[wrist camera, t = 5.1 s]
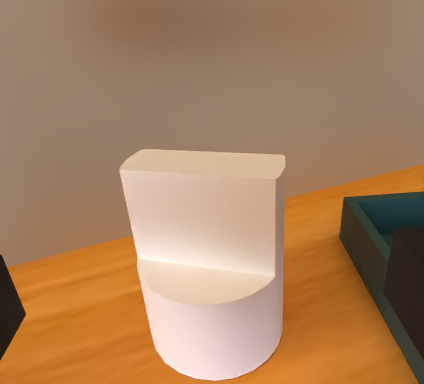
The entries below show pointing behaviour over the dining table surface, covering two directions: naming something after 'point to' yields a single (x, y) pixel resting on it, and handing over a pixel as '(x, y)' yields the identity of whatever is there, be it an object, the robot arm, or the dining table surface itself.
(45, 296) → the dining table surface
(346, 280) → the dining table surface
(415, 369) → the bin
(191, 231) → the cylinder with rectangular tab
